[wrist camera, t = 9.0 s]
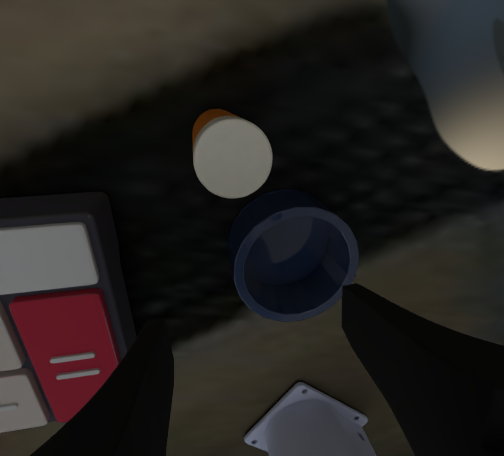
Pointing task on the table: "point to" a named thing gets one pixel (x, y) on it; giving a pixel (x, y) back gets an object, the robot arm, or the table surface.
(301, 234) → the dark blue round bowl
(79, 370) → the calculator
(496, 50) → the table surface
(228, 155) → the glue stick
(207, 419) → the table surface
